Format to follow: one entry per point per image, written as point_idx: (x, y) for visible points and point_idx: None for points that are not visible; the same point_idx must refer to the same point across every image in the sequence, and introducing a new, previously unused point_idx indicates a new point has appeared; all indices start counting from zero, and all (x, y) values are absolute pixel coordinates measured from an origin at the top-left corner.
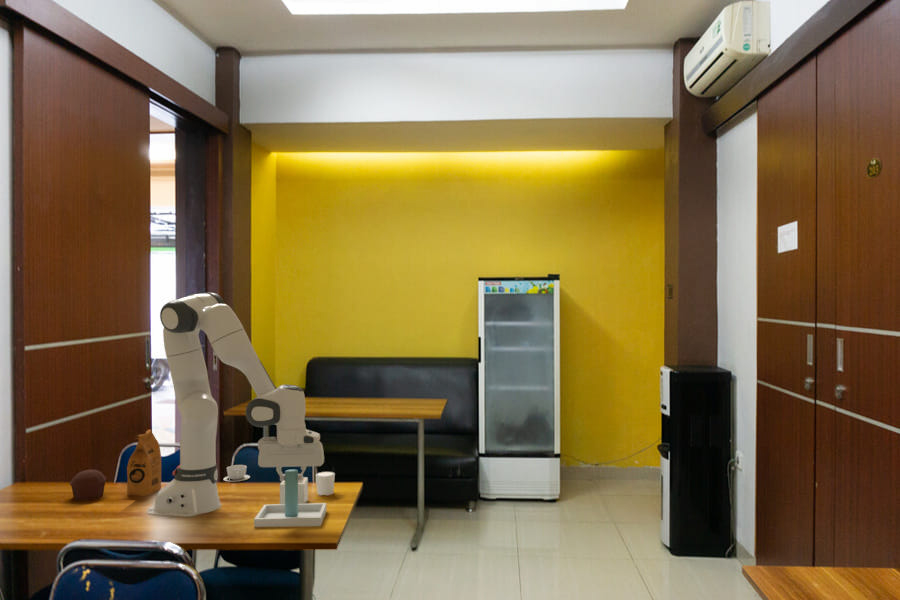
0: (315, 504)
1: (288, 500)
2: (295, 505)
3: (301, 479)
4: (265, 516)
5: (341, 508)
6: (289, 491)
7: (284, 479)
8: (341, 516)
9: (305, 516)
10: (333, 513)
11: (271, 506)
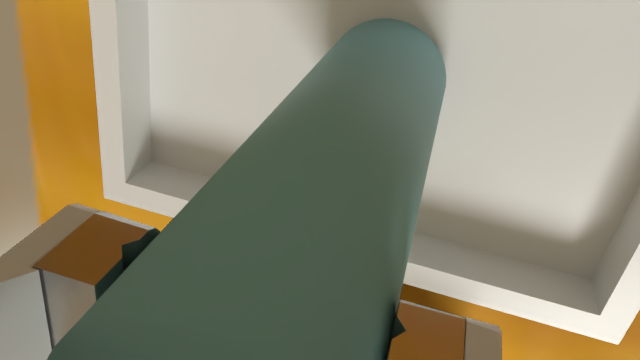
0: (181, 198)
1: (388, 78)
2: (320, 60)
3: (73, 208)
4: (628, 164)
5: (63, 203)
6: (348, 119)
7: (400, 308)
8: (27, 44)
9: (268, 56)
10: (93, 125)
11: (554, 295)
